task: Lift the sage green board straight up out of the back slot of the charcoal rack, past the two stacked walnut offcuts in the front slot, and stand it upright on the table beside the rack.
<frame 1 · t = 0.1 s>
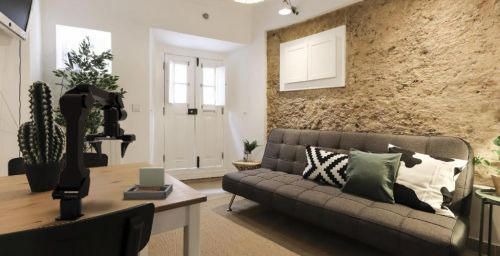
hand: (111, 157, 114), 14 cm above the table, tool pointing down, fingers open, 9 cm apart
board: (152, 191, 112), point 1 cm above the table, touching rack
offcut top: (146, 192, 107), point 2 cm above the table, touching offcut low
rack: (149, 195, 109), on the table
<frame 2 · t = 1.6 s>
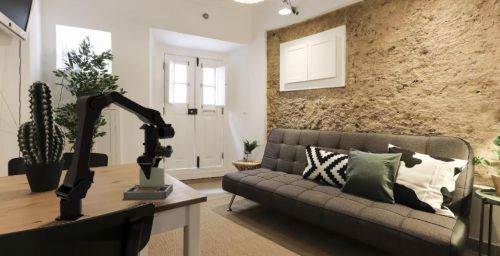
hand: (151, 176, 112), 7 cm above the table, tool pointing down, fingers open, 9 cm apart
nothing on the table moved.
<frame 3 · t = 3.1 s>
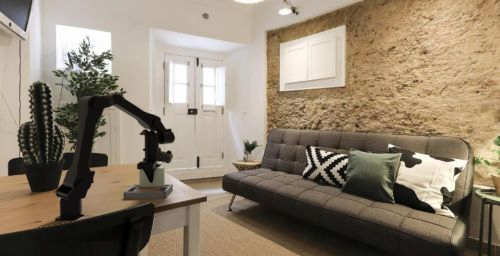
hand: (152, 182, 112), 5 cm above the table, tool pointing down, fingers closed on board, 2 cm apart
board: (152, 191, 112), point 1 cm above the table, touching gripper, rack
everything else where it was.
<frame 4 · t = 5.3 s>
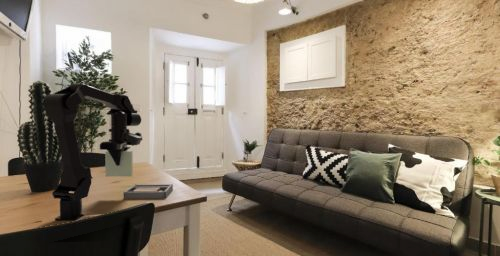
hand: (119, 165, 106), 13 cm above the table, tool pointing down, fingers closed on board
board: (119, 176, 107), point 8 cm above the table, touching gripper
everything else where it was.
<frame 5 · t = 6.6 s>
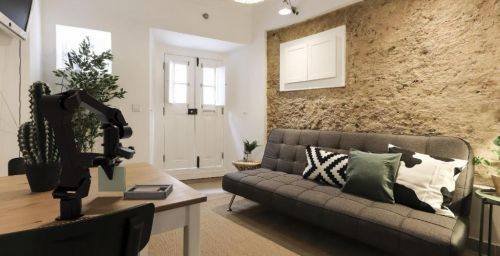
hand: (111, 179, 106), 7 cm above the table, tool pointing down, fingers closed on board, 2 cm apart
board: (112, 191, 106), point 2 cm above the table, touching gripper
everything else where it was.
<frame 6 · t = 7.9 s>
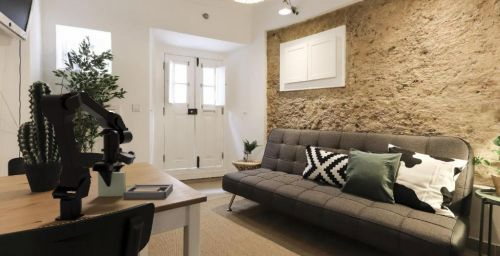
hand: (112, 184, 106), 5 cm above the table, tool pointing down, fingers open, 5 cm apart
board: (112, 197, 106), on the table
everything else where it was.
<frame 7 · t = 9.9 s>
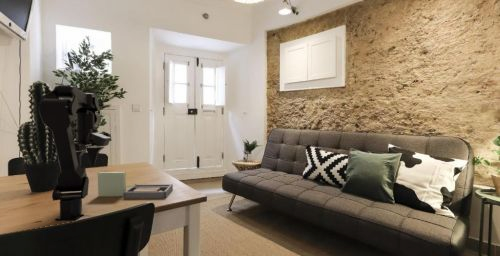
hand: (86, 167, 101), 13 cm above the table, tool pointing down, fingers open, 9 cm apart
nothing on the table moved.
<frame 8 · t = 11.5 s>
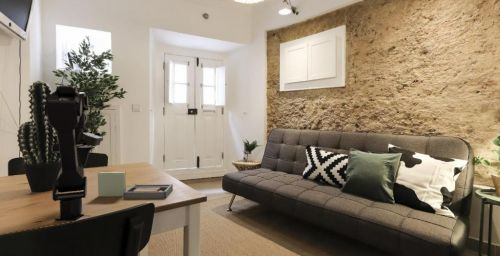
hand: (76, 167, 99), 13 cm above the table, tool pointing down, fingers open, 9 cm apart
nothing on the table moved.
at the end: board inside the target area (0.1 cm from its centre), on the table; board tilted 0°; offcut top moved 0.0 cm from its start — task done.
